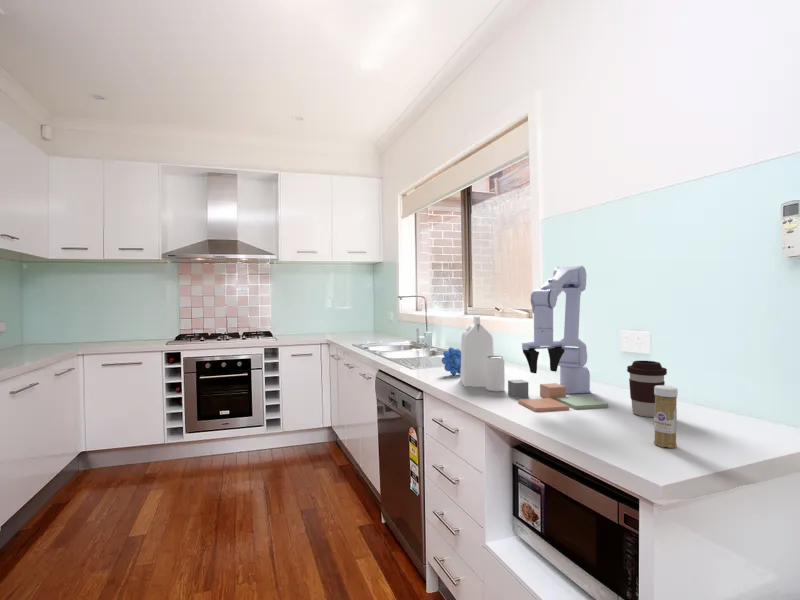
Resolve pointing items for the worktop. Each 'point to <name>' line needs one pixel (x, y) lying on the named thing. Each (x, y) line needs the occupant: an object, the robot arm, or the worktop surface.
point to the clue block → (552, 390)
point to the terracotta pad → (543, 404)
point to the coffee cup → (645, 386)
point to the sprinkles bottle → (665, 416)
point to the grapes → (452, 360)
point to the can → (495, 374)
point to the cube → (517, 388)
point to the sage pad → (581, 402)
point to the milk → (475, 354)
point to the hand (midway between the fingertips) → (543, 372)
